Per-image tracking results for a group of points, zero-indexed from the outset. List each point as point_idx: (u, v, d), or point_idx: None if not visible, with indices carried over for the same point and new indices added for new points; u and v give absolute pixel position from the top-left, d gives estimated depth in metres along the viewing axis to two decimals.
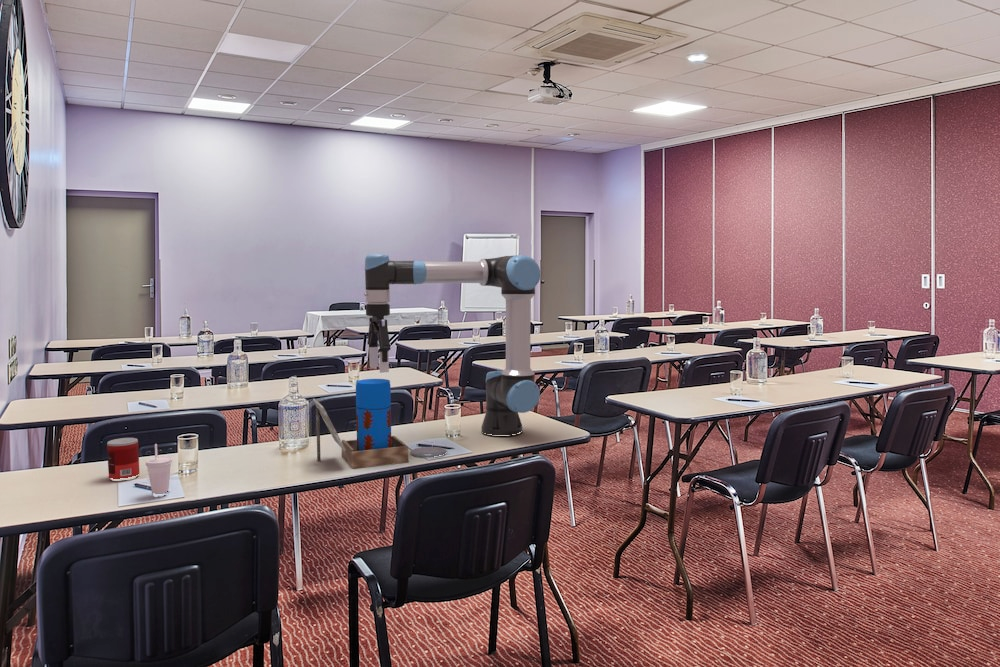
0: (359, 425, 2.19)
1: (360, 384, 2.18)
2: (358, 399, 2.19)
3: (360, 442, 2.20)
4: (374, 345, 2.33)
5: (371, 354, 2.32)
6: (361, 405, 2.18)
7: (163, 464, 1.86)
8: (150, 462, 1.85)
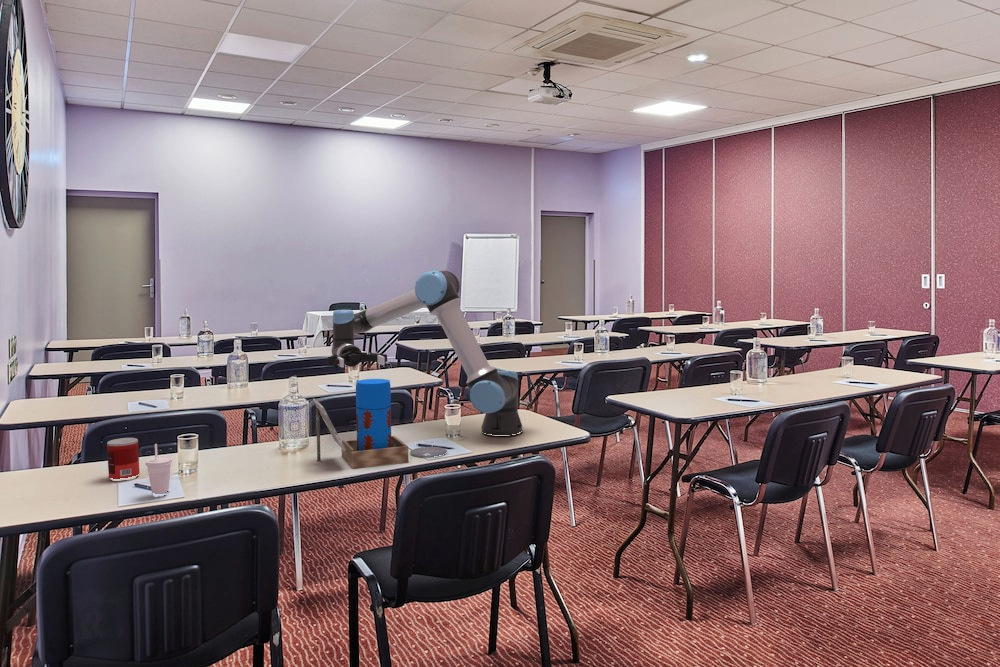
0: (359, 425, 2.19)
1: (360, 384, 2.18)
2: (358, 399, 2.19)
3: (360, 442, 2.20)
4: None
5: (379, 362, 2.40)
6: (361, 405, 2.18)
7: (163, 464, 1.86)
8: (150, 462, 1.85)
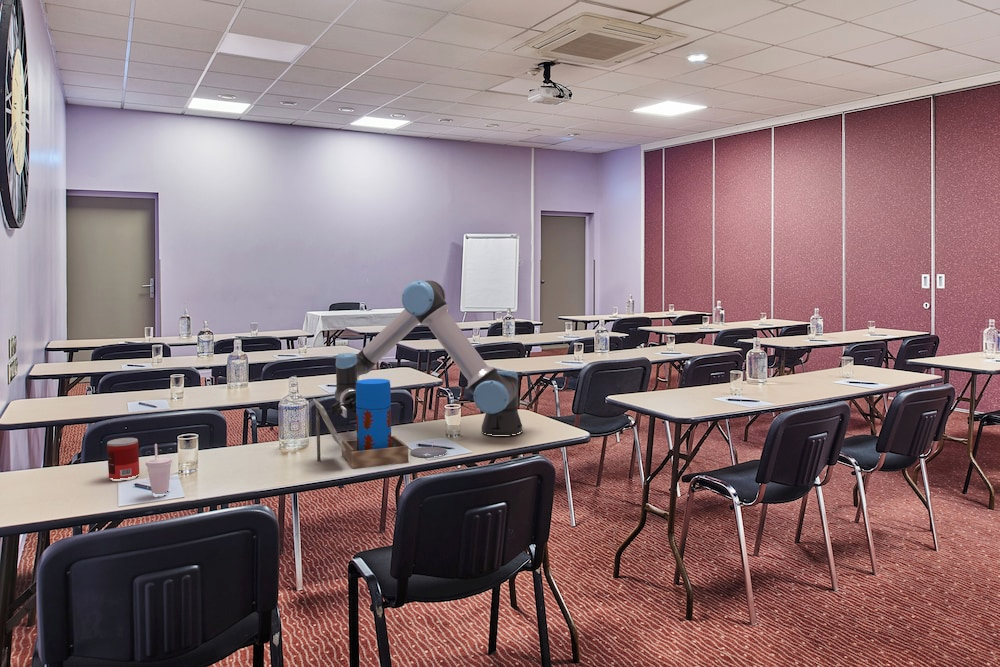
0: (359, 425, 2.19)
1: (360, 384, 2.18)
2: (358, 399, 2.19)
3: (360, 442, 2.20)
4: None
5: None
6: (361, 405, 2.18)
7: (163, 464, 1.86)
8: (150, 462, 1.85)
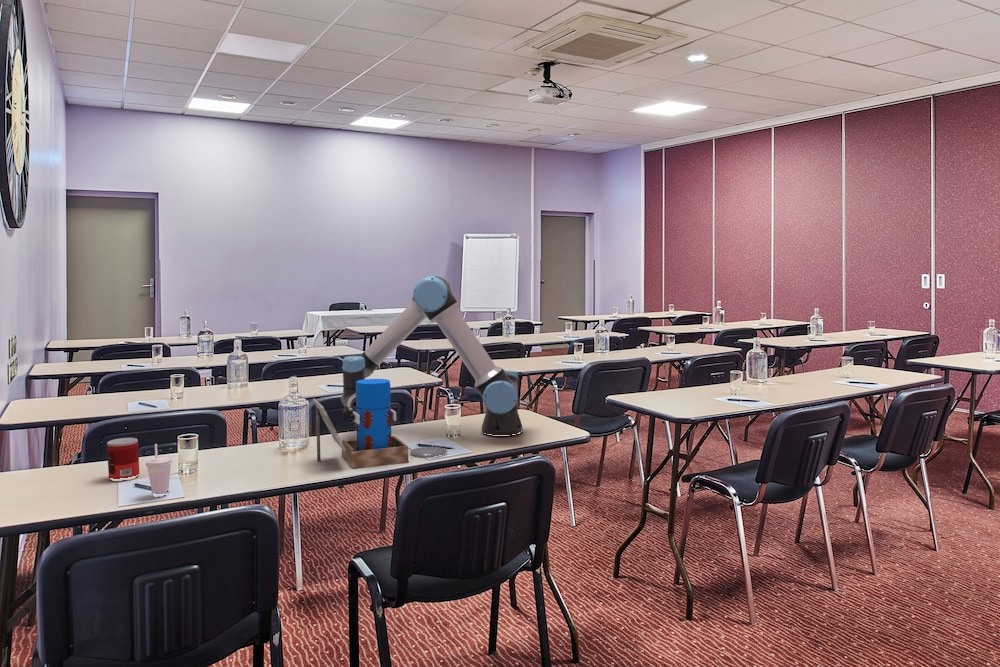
0: (359, 425, 2.19)
1: (360, 384, 2.18)
2: (358, 399, 2.19)
3: (360, 442, 2.20)
4: None
5: None
6: (361, 405, 2.18)
7: (163, 464, 1.86)
8: (150, 462, 1.85)
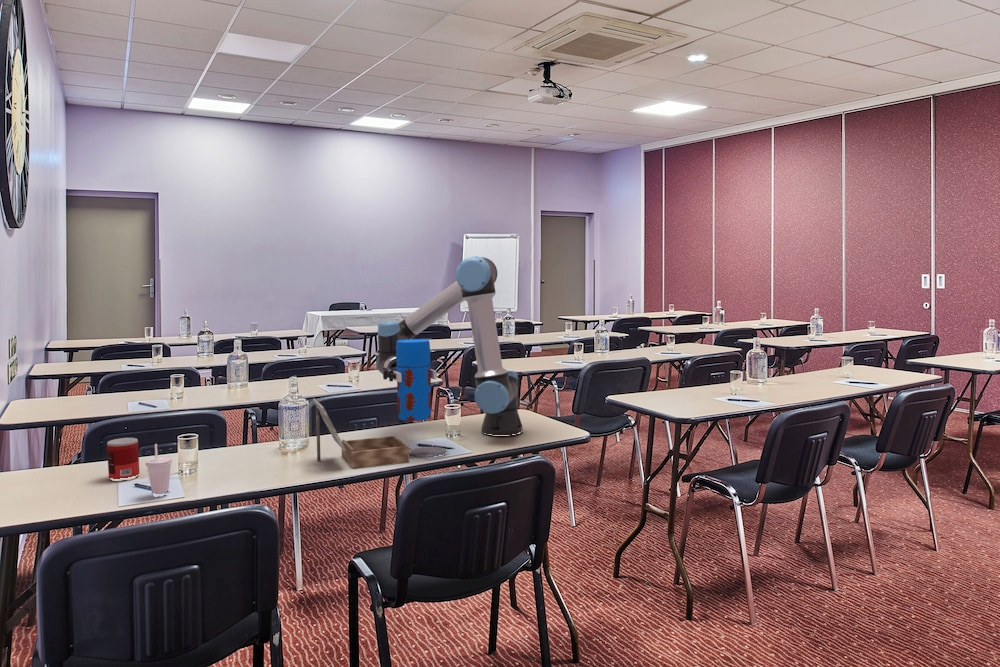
0: (400, 383, 2.24)
1: (401, 343, 2.23)
2: (399, 358, 2.24)
3: (401, 400, 2.25)
4: None
5: None
6: (402, 363, 2.23)
7: (163, 464, 1.86)
8: (150, 462, 1.85)
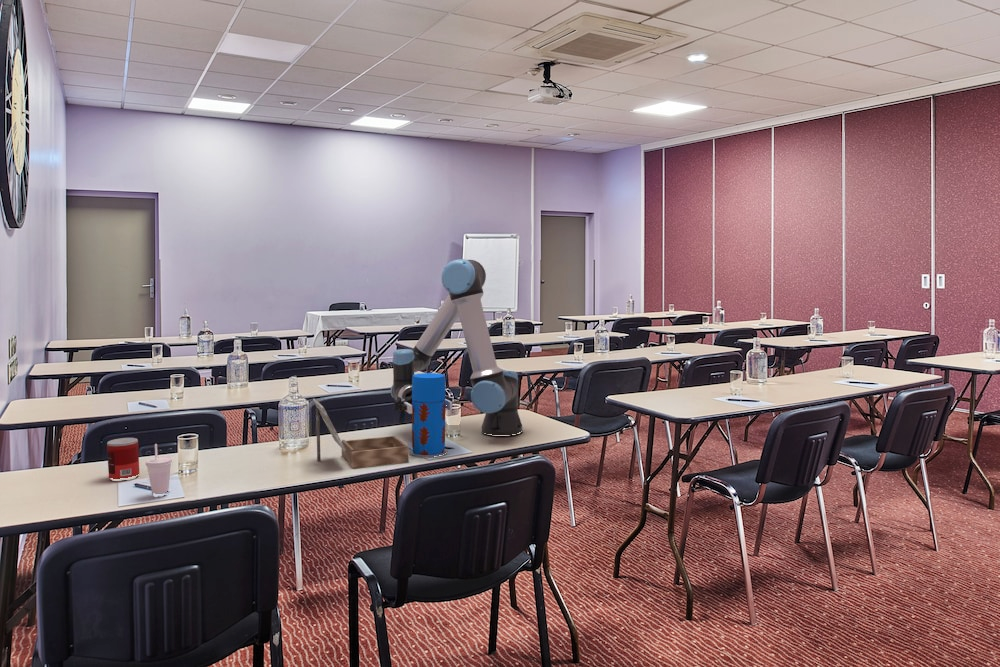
0: (415, 418, 2.27)
1: (417, 378, 2.25)
2: (415, 392, 2.26)
3: (416, 434, 2.27)
4: None
5: (445, 406, 2.34)
6: (418, 398, 2.25)
7: (163, 464, 1.86)
8: (150, 462, 1.85)
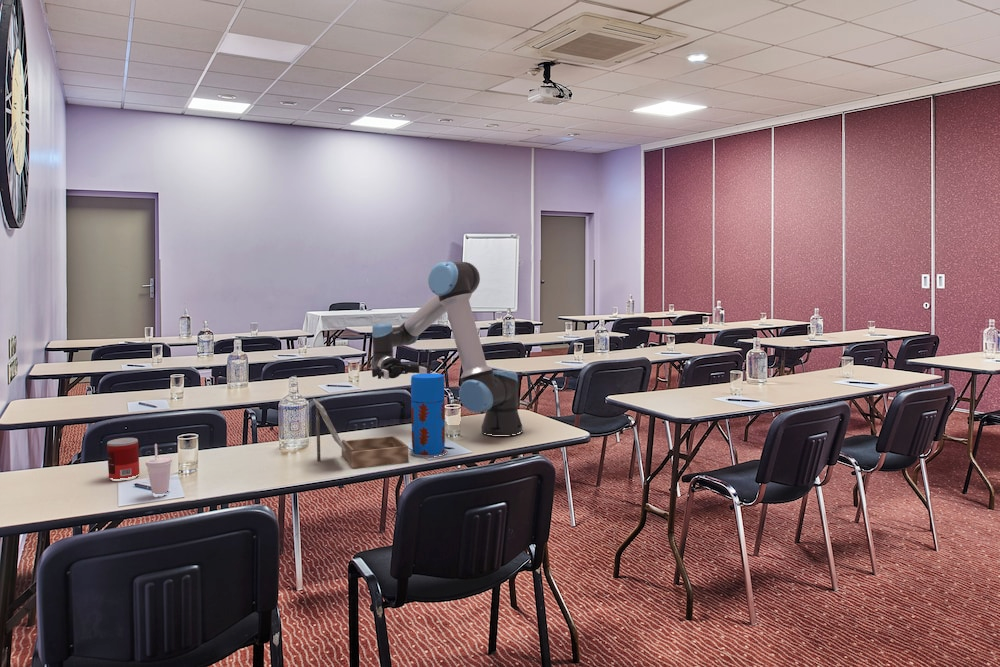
0: (414, 418, 2.27)
1: (416, 378, 2.25)
2: (414, 393, 2.26)
3: (415, 434, 2.27)
4: None
5: (421, 373, 2.48)
6: (417, 398, 2.25)
7: (163, 464, 1.86)
8: (150, 462, 1.85)
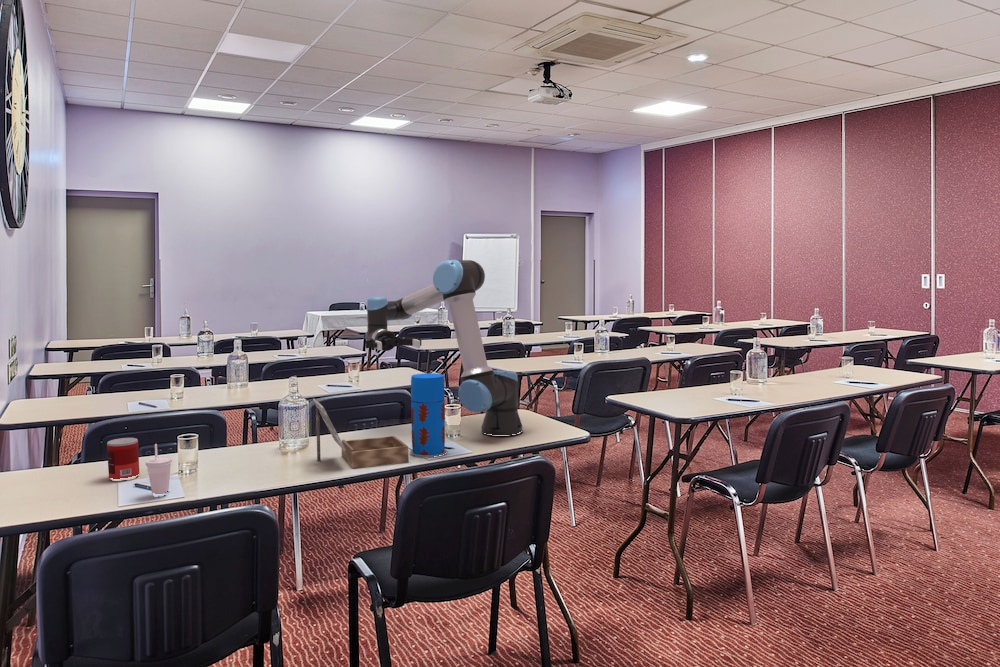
0: (414, 418, 2.27)
1: (416, 378, 2.25)
2: (414, 393, 2.26)
3: (415, 434, 2.27)
4: None
5: (414, 345, 2.50)
6: (417, 398, 2.25)
7: (163, 464, 1.86)
8: (150, 462, 1.85)
